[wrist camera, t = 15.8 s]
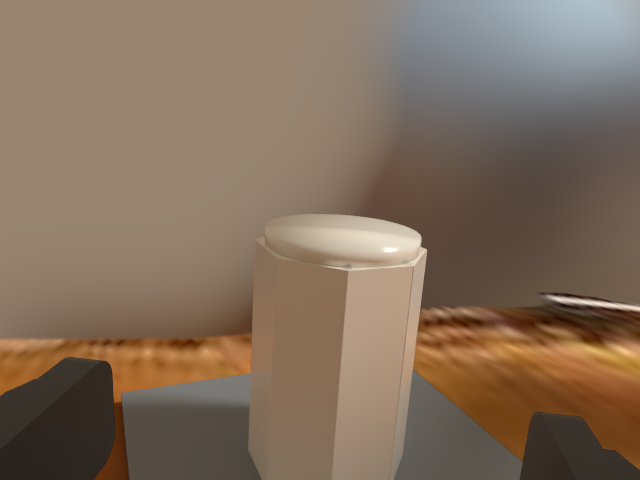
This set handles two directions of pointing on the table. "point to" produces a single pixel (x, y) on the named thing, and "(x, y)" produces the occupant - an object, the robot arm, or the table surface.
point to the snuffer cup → (333, 346)
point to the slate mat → (233, 433)
